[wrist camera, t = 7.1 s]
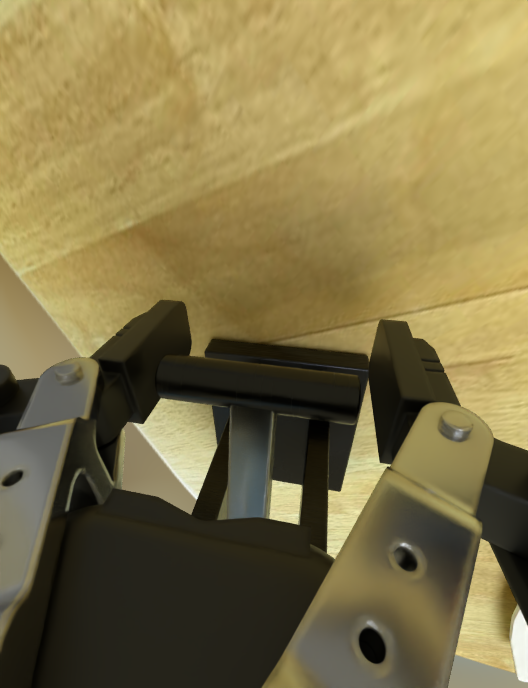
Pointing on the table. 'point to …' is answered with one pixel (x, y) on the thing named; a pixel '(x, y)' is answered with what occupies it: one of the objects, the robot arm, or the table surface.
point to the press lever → (257, 413)
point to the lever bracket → (288, 437)
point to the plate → (519, 644)
